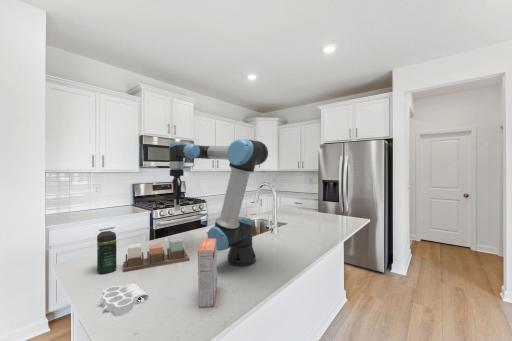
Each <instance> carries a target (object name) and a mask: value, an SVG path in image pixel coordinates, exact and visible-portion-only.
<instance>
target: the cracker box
mask: <svg viewBox="0 0 512 341" xmlns="http://www.w3.org/2000/svg"><path fill="white" fill-rule="evenodd" d="M217 254H218V253H217V250H216V239H208V238H203V239H202V240H201V243H200V246H199V247H198V249H197V269H198V270H197V271H198V272H197V275H198V276H197V277H198V281H197V282H198V308H213V307H215V305H216V304H215V303H216V296H217V290H218V269H217V268H218V267H217V265H218V264H217V263H218V262H217V261H218V260H217Z"/></svg>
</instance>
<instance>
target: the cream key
mask: <svg viewBox="0 0 512 341" xmlns="http://www.w3.org/2000/svg"><path fill="white" fill-rule="evenodd" d="M137 257H141V258H142V243H141V242H140V243H132V244H127V260H128V259H130V258H137Z"/></svg>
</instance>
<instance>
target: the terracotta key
mask: <svg viewBox="0 0 512 341" xmlns="http://www.w3.org/2000/svg"><path fill="white" fill-rule="evenodd" d="M163 249H164V247H163V244H162V243H157V244H150V245H149V250H148V251H149V255H156V254H162V253H163Z"/></svg>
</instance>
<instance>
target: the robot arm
mask: <svg viewBox="0 0 512 341" xmlns="http://www.w3.org/2000/svg"><path fill="white" fill-rule="evenodd" d="M168 150H169V154H168V155H169V162H168V166H169V169H170V170H169V176H170V177H173V179H172V181H171V182H172V195H173V200H174V203H173V204H174V212H177V211H181V196H182V183H183V182H182V179H181V177H182V176H184V174H185V173H184V163H185V162H184V159H198V160H199V159H201V160H202V159H204V160H225V161H226V160H227V161H228V163H229V164H228V166H229V168H230V170H231V171H230V175H229V179H228V182H227V188H226V191H225V194H224V195H225V196H224V199H223V203H222V208H221V210H220V211H221V212H220V215H219V216H218V217H217V218H216V219H215V222H214V226H211V227H210V228H209V230H207V239H216V251H218V252H219V251H220V252H221V251H224V250H228V249H229V250H228V254H227V256H226V257H227V263H228V264H229V265H232V266H236V267H237V266H238V267H245V266H249V265H252V264H254V263H256V258H257V257H256V254H255V253H256V252H255V251H254V248H253V226H254V224H253V220H252V218H249V217H246V216H245V217H244V216H240V213H241V210H242V209H241V208H242V205H243V201H244V197H245V193H246V189H247V185H248V182H249V179H250V178H249V177H250V175H251V174H253V172H254V171H255V168H256V166H258V165H262V164H264V163H265V162H266V161H267V159H268V157H269V150H268V148H267V146H266V144H265V143H264V142H262V141H259V140H254V139H253V140H252V139H247V138H237V139H235V140H233V141H232V142H231V143H230V144H229V145H197V144H195V143H188V144H187V143H186V144H184V142H182V141H170V142H169V148H168Z"/></svg>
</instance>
